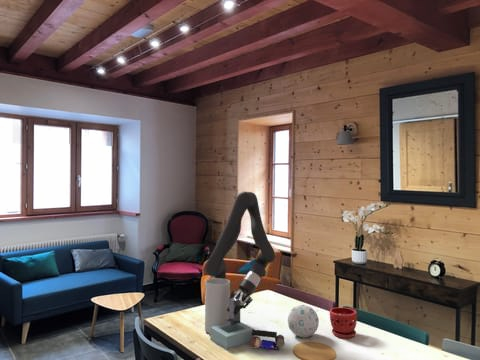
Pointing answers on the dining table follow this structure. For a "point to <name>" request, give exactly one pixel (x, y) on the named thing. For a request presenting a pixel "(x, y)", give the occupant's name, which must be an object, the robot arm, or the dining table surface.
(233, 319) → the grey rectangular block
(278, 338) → the figurine character
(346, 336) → the plant pot
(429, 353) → the dining table surface
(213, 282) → the cylinder vase
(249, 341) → the well block
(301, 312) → the puzzle ball
